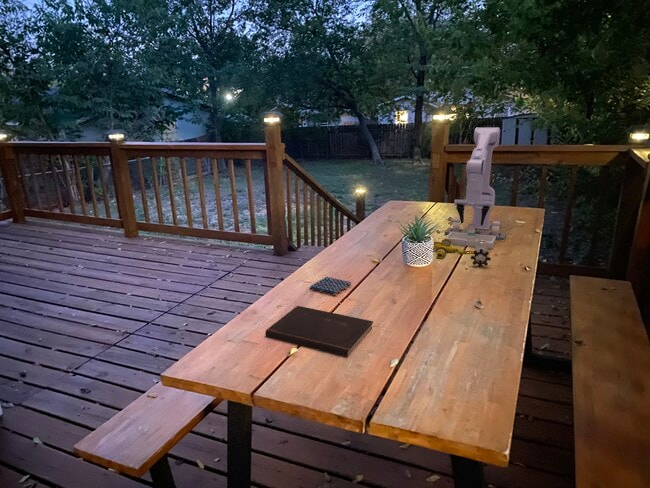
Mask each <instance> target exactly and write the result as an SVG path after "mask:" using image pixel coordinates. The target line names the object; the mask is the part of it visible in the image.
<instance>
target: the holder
mask: <svg viewBox="0 0 650 488" xmlns="http://www.w3.org/2000/svg"><path fill="white" fill-rule="evenodd" d="M452 230H453V227H447V229H446V230H445V231H444V236H447V235H448V234H449V233H450V232H452ZM467 232H468V228H467V229H466V228H459V232H458V233H467ZM475 234H478V235H488V236H491V234H492V231H489V230H486V231H485V230H479V229H478V230H477V229H475ZM505 237H507V233H505V232H499V236H496V240H504V239H505V240H506V238H505ZM505 240H504V241H505Z"/></svg>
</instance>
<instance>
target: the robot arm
mask: <svg viewBox="0 0 650 488" xmlns="http://www.w3.org/2000/svg"><path fill="white" fill-rule="evenodd" d="M500 135H501V129H500V127H499V126H498V127H497V126H496V127H477V126H476V128H474V132H473V141H474V144H475V146H476V147H474V149H473V150H472V154H471V156H470V159H469V160H467V162H466V179H467V180H466V194H465V195H466V196H465V199H454V202H453V205H454V206H456V207H455V209H456V211H457V213H458V216H459V218H460V224H463V223H464V221H465V219H464V218H465V217H464V215H465V214H464V213H465V206H467V207H469V206H470V207H472V210H473V212H472V223H471V224H475V225H476V229H475V230H477V229H478V230H486V231H489V229H490V228H491V227H492V223H490V217H491V209H492V208H493V207H495V201H496V192H495V189H494V188H493V187H491V186H490V179H491V171H492V170H491V169H492V157H493V156H492V155H493V151H494V149H495V148H497V147H499V145H500V137H501V136H500Z"/></svg>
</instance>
